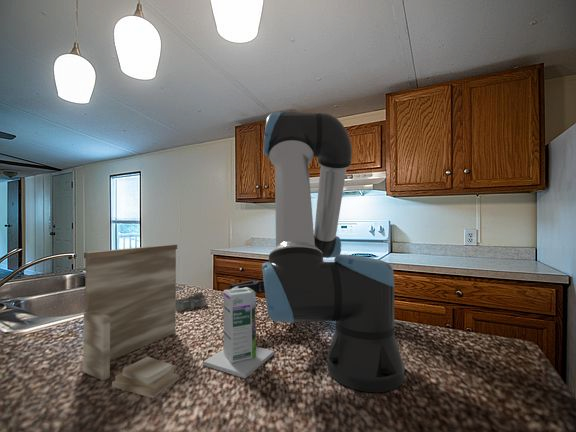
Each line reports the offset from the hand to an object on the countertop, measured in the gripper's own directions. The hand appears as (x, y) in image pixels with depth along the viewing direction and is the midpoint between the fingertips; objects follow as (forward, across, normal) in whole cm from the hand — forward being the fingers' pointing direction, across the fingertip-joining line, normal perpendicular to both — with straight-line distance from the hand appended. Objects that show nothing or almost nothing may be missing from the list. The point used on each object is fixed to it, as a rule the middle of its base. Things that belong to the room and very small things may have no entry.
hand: (250, 300), depth 68 cm
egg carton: (-24, +35, -12) cm, 44 cm away
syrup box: (+6, 0, -11) cm, 12 cm away
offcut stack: (+19, +13, -12) cm, 26 cm away
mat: (+6, 0, -12) cm, 13 cm away
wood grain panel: (+9, +23, -12) cm, 27 cm away
